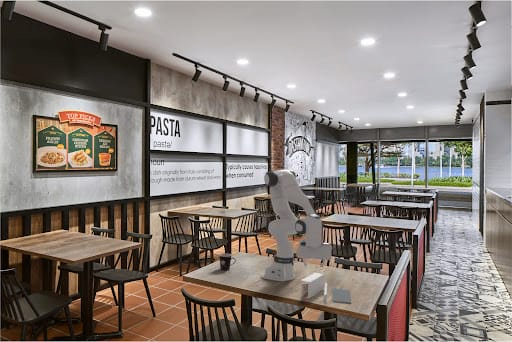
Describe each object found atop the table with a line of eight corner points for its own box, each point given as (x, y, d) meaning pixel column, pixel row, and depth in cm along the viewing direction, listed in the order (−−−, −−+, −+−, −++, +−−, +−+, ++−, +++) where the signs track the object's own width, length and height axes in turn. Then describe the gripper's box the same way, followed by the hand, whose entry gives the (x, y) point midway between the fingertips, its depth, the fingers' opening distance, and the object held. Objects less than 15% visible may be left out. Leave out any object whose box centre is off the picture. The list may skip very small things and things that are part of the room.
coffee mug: (216, 268, 249) (216, 254, 248) (226, 266, 254) (226, 252, 254) (226, 272, 240) (226, 258, 240) (236, 270, 246) (236, 256, 246)
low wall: (323, 300, 193) (324, 294, 193) (325, 288, 213) (325, 283, 213) (326, 301, 193) (326, 294, 193) (327, 288, 213) (327, 283, 213)
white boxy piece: (315, 287, 215) (315, 272, 215) (323, 289, 211) (323, 274, 211) (299, 297, 198) (299, 280, 198) (308, 299, 195) (308, 282, 195)
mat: (332, 301, 192) (332, 300, 192) (332, 289, 212) (332, 288, 212) (351, 303, 190) (351, 302, 190) (349, 291, 210) (349, 290, 210)
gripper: (332, 242, 205) (332, 266, 205) (297, 240, 209) (296, 263, 209) (332, 244, 199) (331, 269, 199) (296, 242, 203) (295, 266, 203)
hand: (313, 266), depth 204 cm, fingers open, 8 cm apart
